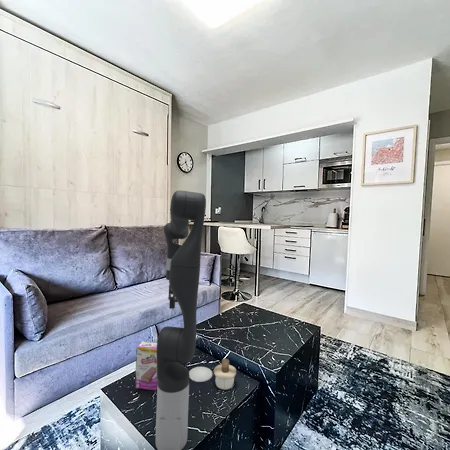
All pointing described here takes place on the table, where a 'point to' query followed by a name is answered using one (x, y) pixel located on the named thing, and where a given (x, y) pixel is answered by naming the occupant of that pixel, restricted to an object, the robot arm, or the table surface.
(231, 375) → the lid
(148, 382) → the candy bar box
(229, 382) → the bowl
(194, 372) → the white round disc
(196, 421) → the table surface
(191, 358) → the robot arm
